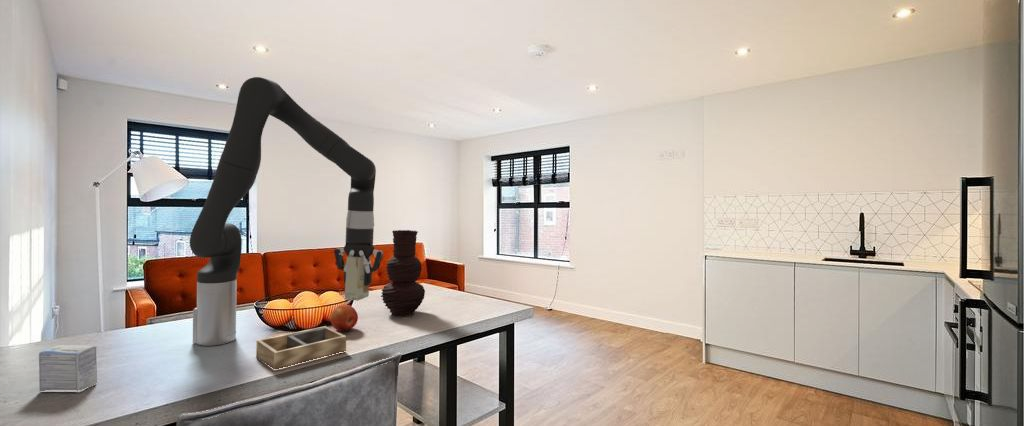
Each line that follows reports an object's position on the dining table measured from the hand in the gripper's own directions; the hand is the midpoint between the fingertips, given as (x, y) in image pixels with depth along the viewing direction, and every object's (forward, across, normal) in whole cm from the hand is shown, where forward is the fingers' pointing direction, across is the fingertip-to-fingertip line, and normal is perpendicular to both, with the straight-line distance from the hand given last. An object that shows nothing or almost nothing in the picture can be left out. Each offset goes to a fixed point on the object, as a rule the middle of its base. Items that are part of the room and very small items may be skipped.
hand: (357, 284), depth 125 cm
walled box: (+17, -10, -12) cm, 23 cm away
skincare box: (+4, 0, 0) cm, 4 cm away
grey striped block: (+18, -48, -35) cm, 62 cm away
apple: (+17, -7, +9) cm, 20 cm away
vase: (+17, +6, +30) cm, 35 cm away
